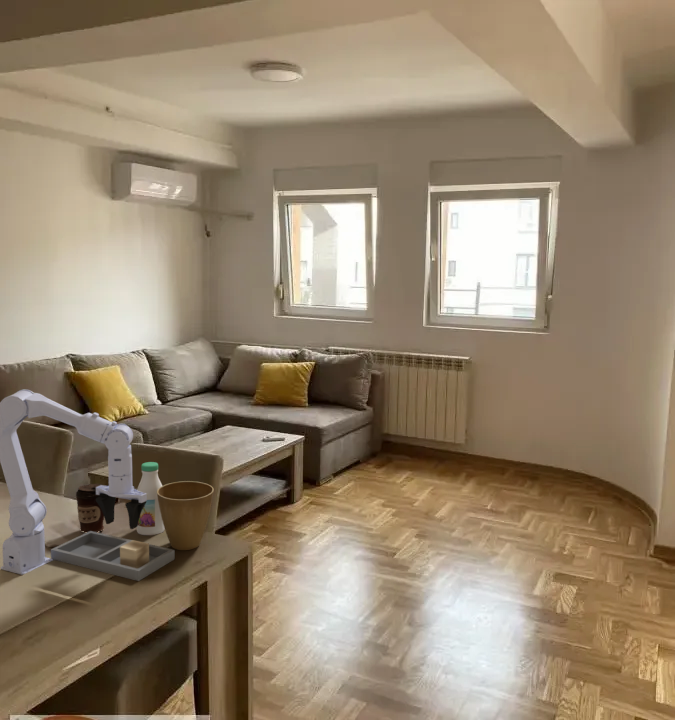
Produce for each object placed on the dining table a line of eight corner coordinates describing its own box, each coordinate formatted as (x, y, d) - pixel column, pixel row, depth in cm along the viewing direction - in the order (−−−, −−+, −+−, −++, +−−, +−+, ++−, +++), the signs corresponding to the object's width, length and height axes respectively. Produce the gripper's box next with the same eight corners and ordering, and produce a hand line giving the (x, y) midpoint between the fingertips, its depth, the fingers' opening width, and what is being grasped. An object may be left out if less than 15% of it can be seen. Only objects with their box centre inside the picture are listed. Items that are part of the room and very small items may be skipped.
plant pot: (145, 550, 187) (144, 492, 185) (182, 532, 200) (182, 477, 198) (189, 562, 180) (189, 502, 178) (224, 542, 193) (224, 486, 191)
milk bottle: (153, 524, 205) (153, 458, 202) (170, 531, 200) (169, 463, 197) (131, 532, 199) (130, 463, 196) (147, 539, 194) (146, 469, 192)
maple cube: (136, 569, 174) (135, 550, 173) (120, 566, 176) (119, 547, 175) (149, 562, 178) (148, 543, 178) (133, 558, 180) (133, 540, 180)
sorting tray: (138, 582, 168) (138, 571, 168) (51, 560, 179) (50, 549, 179) (174, 560, 181) (174, 549, 180) (90, 541, 192) (90, 530, 191)
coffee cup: (101, 537, 195) (100, 492, 193) (71, 536, 195) (70, 491, 193) (112, 525, 204) (111, 482, 202) (83, 524, 204) (82, 481, 202)
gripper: (154, 472, 176) (155, 524, 178) (108, 465, 182) (110, 515, 184) (135, 480, 170) (136, 534, 172) (89, 472, 176) (90, 524, 178)
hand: (121, 525), depth 177 cm, fingers open, 7 cm apart
